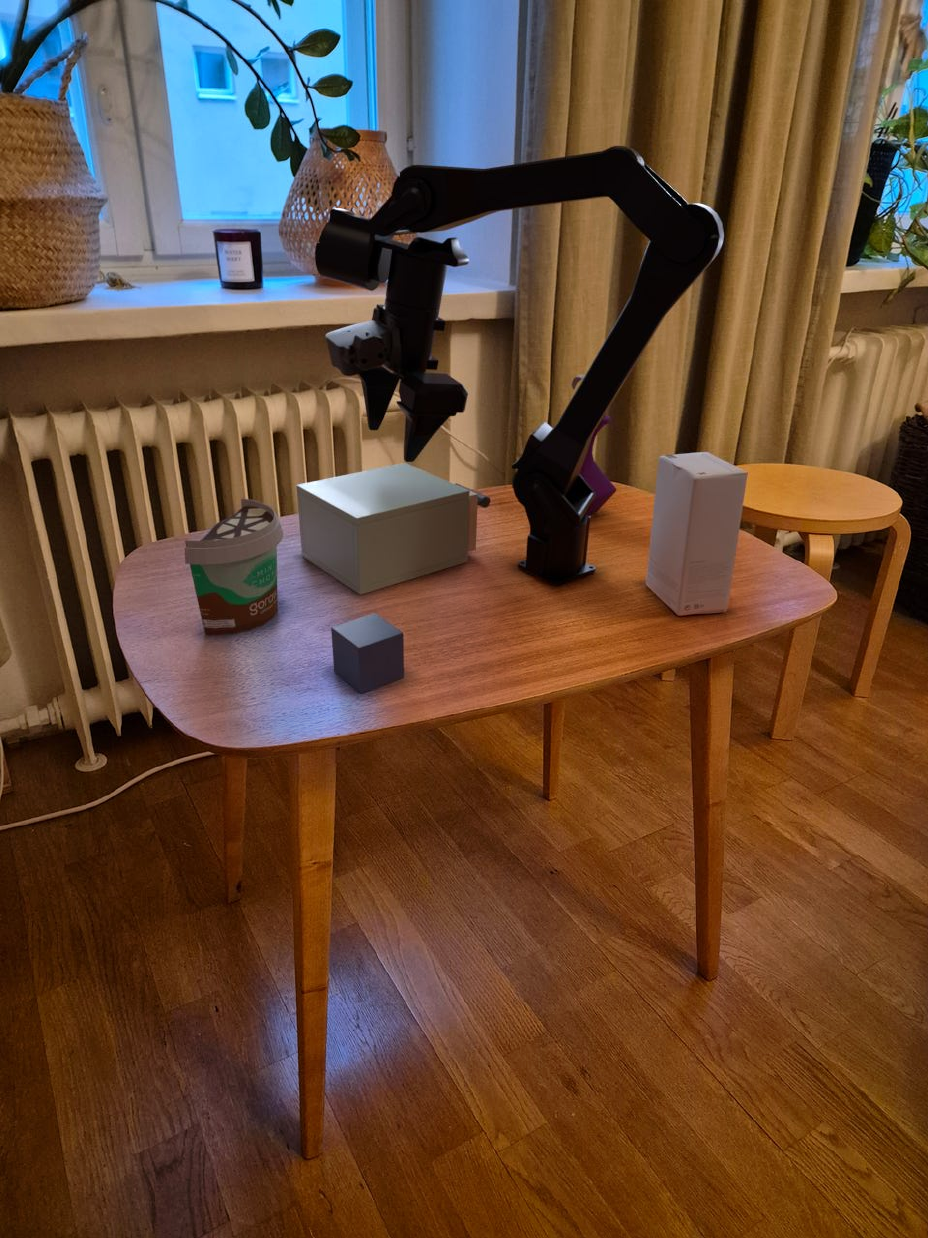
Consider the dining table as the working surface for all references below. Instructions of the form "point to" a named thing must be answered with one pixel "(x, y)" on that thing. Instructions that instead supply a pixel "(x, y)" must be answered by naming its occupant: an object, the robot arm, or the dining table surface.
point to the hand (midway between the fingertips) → (390, 445)
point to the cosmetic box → (695, 531)
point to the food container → (237, 570)
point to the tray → (474, 514)
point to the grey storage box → (383, 525)
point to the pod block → (368, 652)
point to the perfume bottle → (595, 468)
